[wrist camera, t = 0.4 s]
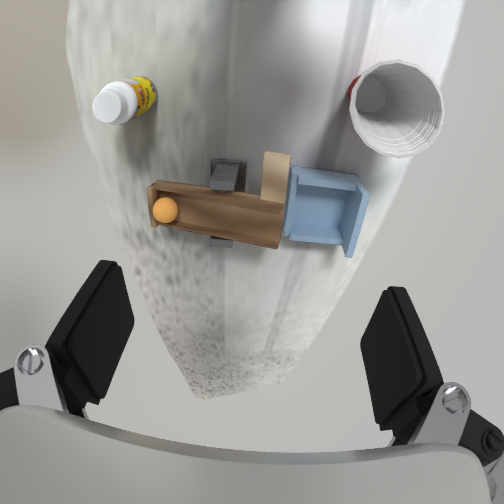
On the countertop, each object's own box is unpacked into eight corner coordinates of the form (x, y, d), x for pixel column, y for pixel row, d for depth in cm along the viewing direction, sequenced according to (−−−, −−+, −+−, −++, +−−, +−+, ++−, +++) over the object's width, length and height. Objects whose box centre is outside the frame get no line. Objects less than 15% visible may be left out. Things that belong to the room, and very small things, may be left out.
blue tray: (289, 165, 41) (292, 185, 36) (356, 174, 41) (370, 195, 36) (282, 225, 47) (283, 251, 42) (343, 231, 47) (352, 257, 42)
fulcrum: (212, 158, 41) (201, 177, 36) (247, 160, 41) (242, 180, 35) (212, 220, 47) (203, 247, 42) (243, 223, 47) (239, 250, 42)
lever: (155, 139, 36) (142, 145, 34) (291, 154, 33) (287, 162, 31) (161, 219, 44) (151, 229, 41) (279, 243, 41) (275, 256, 38)
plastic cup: (312, 97, 35) (328, 111, 25) (362, 42, 30) (396, 38, 20) (369, 147, 38) (400, 179, 29) (416, 97, 33) (461, 115, 23)
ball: (161, 191, 40) (146, 202, 37) (182, 195, 39) (167, 206, 36) (163, 213, 42) (149, 224, 39) (183, 217, 41) (170, 230, 38)
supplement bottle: (152, 117, 38) (120, 136, 29) (119, 107, 37) (82, 124, 28) (164, 81, 35) (133, 90, 26) (129, 72, 33) (92, 79, 25)
